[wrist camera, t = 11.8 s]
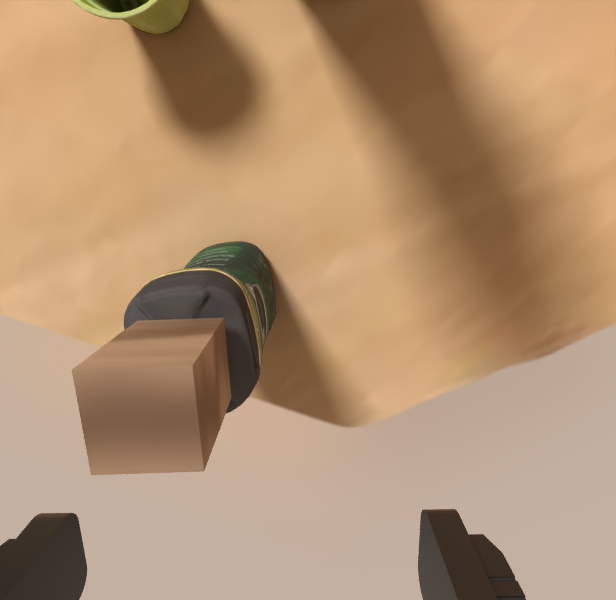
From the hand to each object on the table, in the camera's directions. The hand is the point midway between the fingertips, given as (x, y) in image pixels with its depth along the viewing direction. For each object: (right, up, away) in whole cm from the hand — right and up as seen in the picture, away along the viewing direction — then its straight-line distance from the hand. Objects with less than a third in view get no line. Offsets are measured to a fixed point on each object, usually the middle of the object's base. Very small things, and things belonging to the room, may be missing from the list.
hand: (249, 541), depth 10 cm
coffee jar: (-6, +7, +33) cm, 35 cm away
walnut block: (-6, +2, +15) cm, 16 cm away
